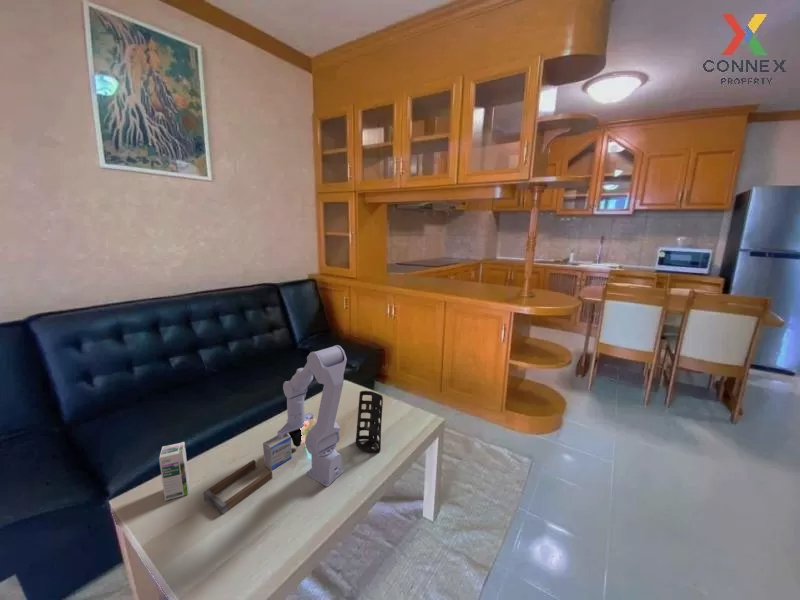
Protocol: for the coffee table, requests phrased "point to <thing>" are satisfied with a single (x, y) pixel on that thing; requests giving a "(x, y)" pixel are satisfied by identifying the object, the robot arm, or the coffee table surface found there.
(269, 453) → the medicine box
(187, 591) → the coffee table surface
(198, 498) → the coffee table surface
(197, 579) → the coffee table surface
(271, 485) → the coffee table surface
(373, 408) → the holder
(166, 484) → the syrup box
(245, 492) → the open rail bay
